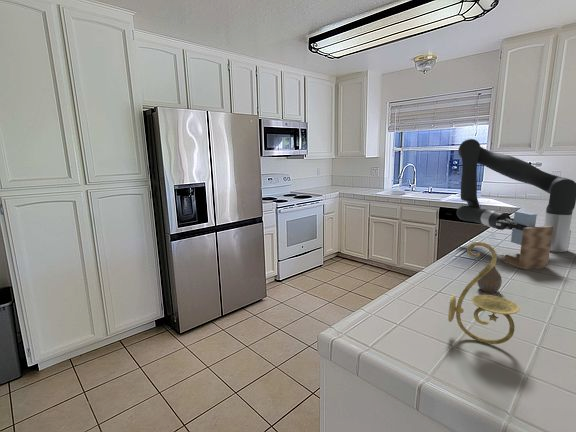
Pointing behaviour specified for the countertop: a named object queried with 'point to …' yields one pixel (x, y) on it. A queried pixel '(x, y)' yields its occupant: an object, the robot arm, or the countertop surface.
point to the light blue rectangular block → (523, 219)
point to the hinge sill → (533, 248)
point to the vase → (490, 281)
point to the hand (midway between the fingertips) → (530, 228)
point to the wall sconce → (484, 302)
